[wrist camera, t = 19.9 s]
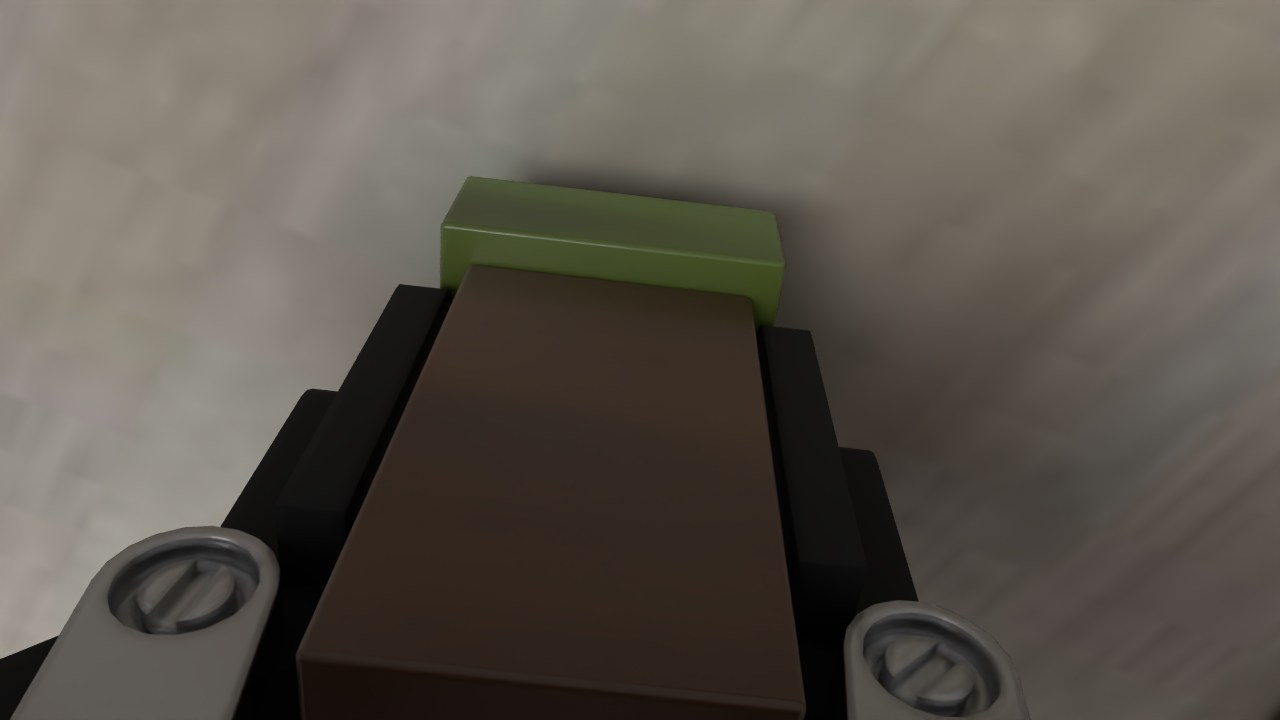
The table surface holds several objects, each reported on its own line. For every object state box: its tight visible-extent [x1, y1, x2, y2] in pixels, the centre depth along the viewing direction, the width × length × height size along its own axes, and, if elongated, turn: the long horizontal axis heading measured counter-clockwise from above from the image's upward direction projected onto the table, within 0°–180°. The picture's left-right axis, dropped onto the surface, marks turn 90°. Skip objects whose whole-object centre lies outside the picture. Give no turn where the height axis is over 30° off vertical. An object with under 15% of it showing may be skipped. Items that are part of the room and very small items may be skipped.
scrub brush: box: [295, 176, 807, 720], centre depth 10 cm, size 4×4×7 cm
